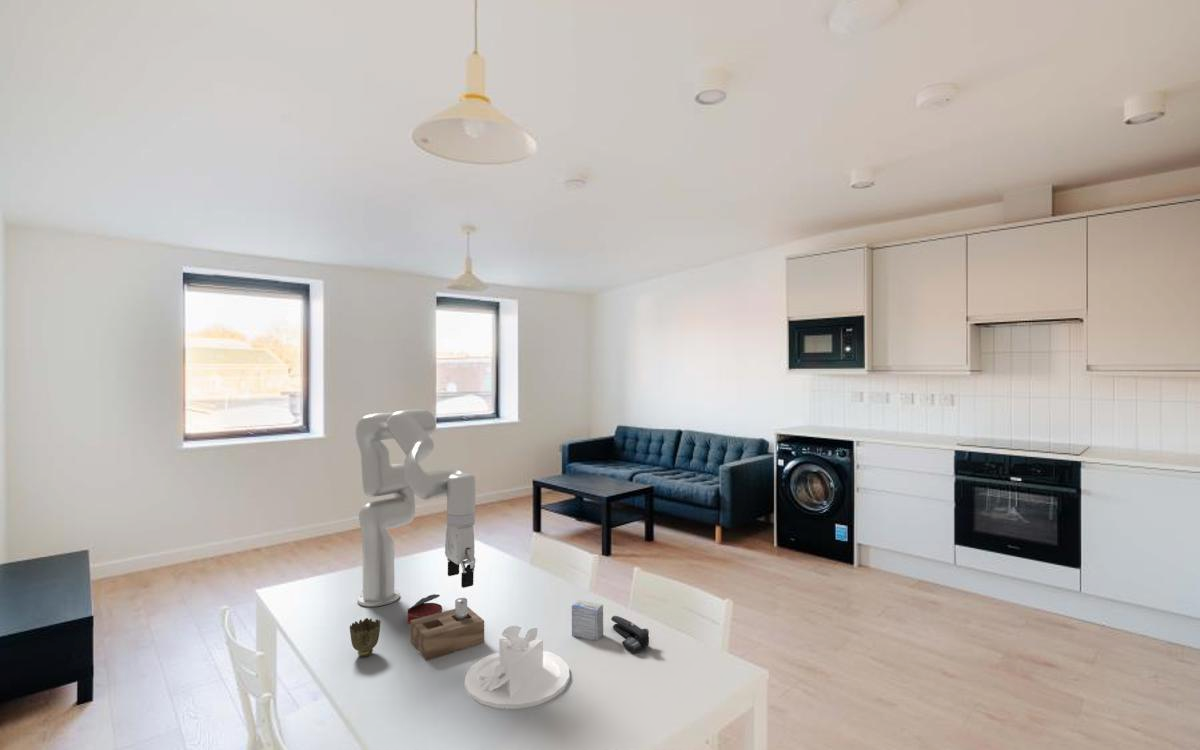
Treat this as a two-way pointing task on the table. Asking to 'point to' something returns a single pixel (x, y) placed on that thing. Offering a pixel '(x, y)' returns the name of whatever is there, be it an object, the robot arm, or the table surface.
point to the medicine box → (587, 620)
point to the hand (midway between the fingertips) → (460, 580)
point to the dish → (517, 673)
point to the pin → (460, 609)
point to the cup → (365, 636)
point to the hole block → (446, 633)
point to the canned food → (424, 608)
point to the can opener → (631, 634)
